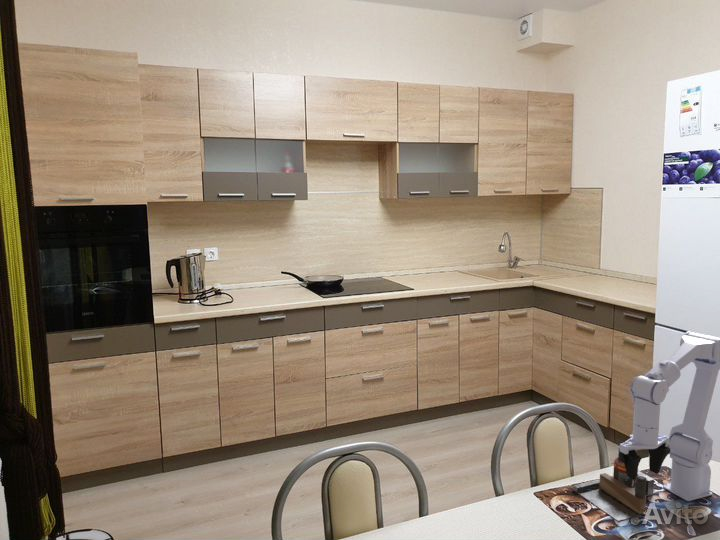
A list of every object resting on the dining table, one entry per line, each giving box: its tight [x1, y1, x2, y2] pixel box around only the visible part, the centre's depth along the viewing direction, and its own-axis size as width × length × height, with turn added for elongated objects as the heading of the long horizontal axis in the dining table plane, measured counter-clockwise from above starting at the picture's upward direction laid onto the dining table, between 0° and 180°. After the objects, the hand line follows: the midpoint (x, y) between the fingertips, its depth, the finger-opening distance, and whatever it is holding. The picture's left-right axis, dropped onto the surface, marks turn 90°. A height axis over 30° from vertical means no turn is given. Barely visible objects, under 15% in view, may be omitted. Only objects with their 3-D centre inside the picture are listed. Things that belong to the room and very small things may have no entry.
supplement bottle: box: [612, 452, 639, 490], centre depth 149 cm, size 6×6×11 cm
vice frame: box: [572, 470, 655, 522], centre depth 146 cm, size 18×16×4 cm
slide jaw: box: [598, 472, 647, 514], centre depth 144 cm, size 2×14×9 cm, turn 21°
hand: (642, 475), depth 138 cm, fingers open, 7 cm apart
